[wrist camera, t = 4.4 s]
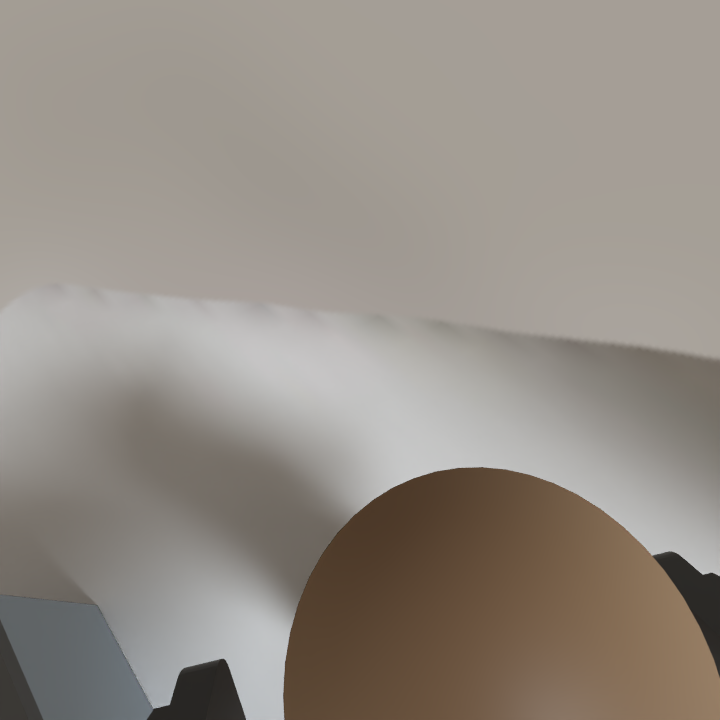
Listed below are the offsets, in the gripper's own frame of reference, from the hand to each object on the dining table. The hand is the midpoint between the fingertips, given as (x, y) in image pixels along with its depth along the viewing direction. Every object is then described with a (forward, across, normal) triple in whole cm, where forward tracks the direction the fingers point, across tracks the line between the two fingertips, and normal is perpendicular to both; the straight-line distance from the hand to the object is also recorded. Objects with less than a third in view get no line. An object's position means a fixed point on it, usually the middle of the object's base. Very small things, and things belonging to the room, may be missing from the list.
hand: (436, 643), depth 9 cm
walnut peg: (+6, 0, +6) cm, 9 cm away
